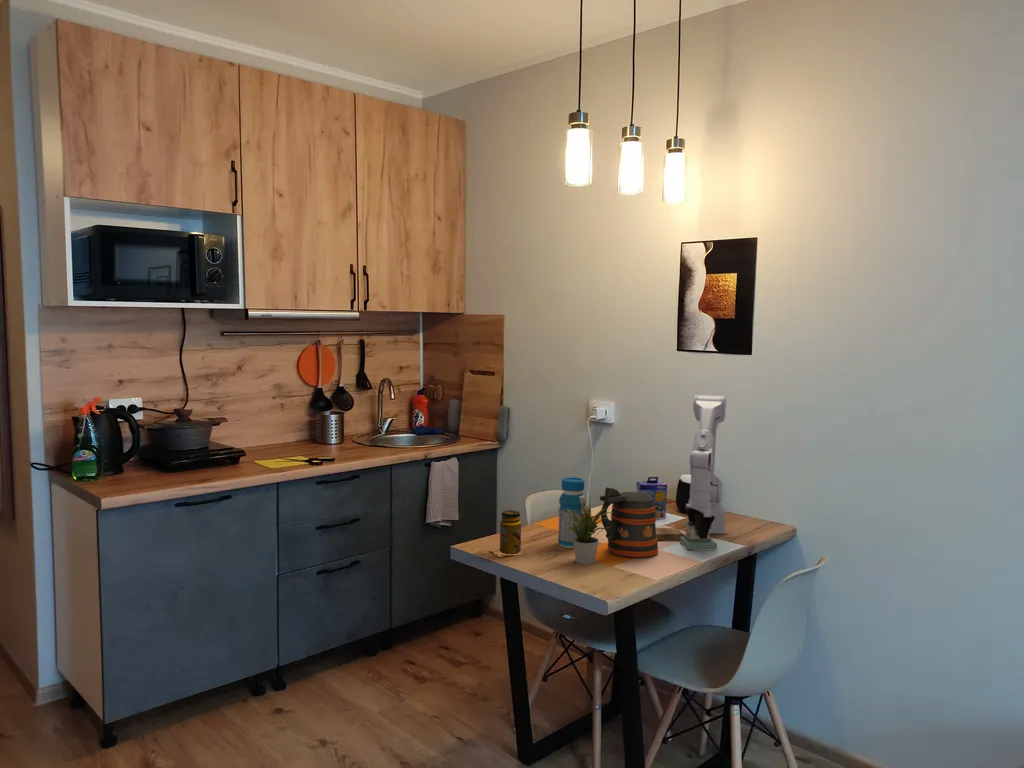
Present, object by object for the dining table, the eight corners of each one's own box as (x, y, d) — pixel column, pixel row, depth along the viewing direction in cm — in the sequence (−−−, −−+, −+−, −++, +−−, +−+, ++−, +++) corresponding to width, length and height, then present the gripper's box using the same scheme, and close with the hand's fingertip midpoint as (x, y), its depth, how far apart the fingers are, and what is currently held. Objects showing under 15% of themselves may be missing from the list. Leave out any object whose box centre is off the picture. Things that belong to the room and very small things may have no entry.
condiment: (525, 554, 213) (526, 513, 212) (498, 558, 210) (499, 516, 209) (515, 548, 220) (515, 508, 219) (488, 551, 216) (489, 510, 215)
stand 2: (708, 542, 228) (709, 536, 228) (717, 549, 221) (717, 543, 221) (680, 543, 227) (680, 536, 227) (687, 550, 220) (687, 543, 220)
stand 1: (676, 534, 237) (676, 527, 237) (683, 540, 230) (683, 534, 230) (648, 534, 236) (649, 528, 236) (654, 540, 229) (655, 534, 229)
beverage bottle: (563, 550, 218) (564, 482, 217) (553, 541, 226) (555, 477, 225) (590, 548, 221) (591, 481, 219) (579, 540, 229) (581, 475, 227)
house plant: (622, 568, 202) (624, 509, 201) (575, 573, 198) (576, 512, 197) (601, 553, 216) (602, 497, 214) (556, 556, 212) (557, 500, 210)
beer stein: (622, 565, 205) (623, 493, 204) (585, 551, 217) (587, 484, 215) (668, 553, 217) (670, 485, 215) (631, 541, 228) (633, 477, 227)
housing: (706, 537, 226) (706, 521, 226) (711, 542, 222) (711, 525, 221) (683, 538, 225) (684, 521, 225) (688, 542, 221) (688, 525, 221)
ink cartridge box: (638, 519, 255) (640, 477, 254) (634, 515, 260) (635, 474, 259) (666, 518, 256) (668, 477, 255) (662, 514, 261) (663, 474, 260)
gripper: (679, 485, 229) (678, 528, 230) (695, 495, 215) (693, 541, 216) (701, 484, 230) (700, 528, 231) (718, 495, 216) (717, 541, 217)
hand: (698, 534), depth 224 cm, fingers open, 7 cm apart
